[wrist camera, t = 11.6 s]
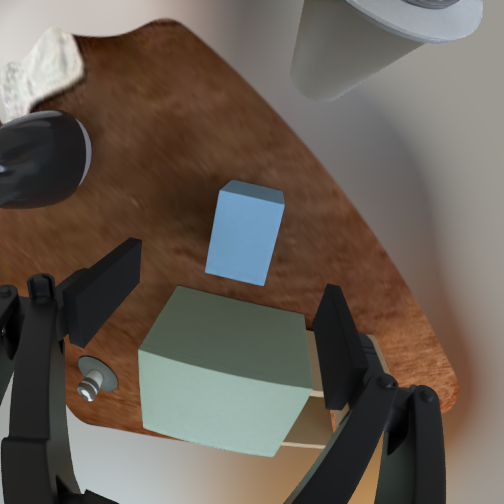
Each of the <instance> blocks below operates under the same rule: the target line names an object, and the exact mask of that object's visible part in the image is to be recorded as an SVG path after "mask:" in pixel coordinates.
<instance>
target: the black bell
mask: <svg viewBox="0 0 504 504" xmlns="http://www.w3.org/2000/svg"><path fill="white" fill-rule="evenodd" d="M90 162H91V142H90V139H89V136H88V133H87V131H86V129H85V128H84V126H83V125H82V124H81V123H80V122H79V121H78V120H77V119H75V118H74V117H73V116H72V115H71V114H69V113H67V112H65V111H62V110H46V111H40V112H36V113H31V114H28V115H25V116H22V117H19V118H17V119H14V120H12V121H10V122H8V123H6V124H4V125H2V126H0V208H3V209H33V208H40V207H46V206H51V205H55V204H58V203H60V202H62V201H64V200H66V199H68V198H69V197H70V196H71V195H72V194H73V193H74V192H75V190H76V189H77V188H78V186H79V185H80V184H81V183H82V181H83V180H84V178H85V176H86V174H87V172H88V169H89V166H90Z"/></svg>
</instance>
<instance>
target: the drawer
mask: <svg viewBox="0 0 504 504" xmlns="http://www.w3.org/2000/svg"><path fill="white" fill-rule="evenodd" d="M306 333H307V341H308V349H309V357H310V365H311V374H312V383H313V391H312V392H311V394H310V396H309V398H308V400H307V401H306V403H305V405H304V407H303V409H302V410H301V412H300V414H299V416H298V417H297V419H296V421H295V422H294V424H293V426H292V428H291V429H290V431H289V432H288V434H287V436H286V437H285V439H284V441H283V442H282V444H281V445H286V446H296V447H307V448H323V449H324V448H325V447H326V445H327V443H328V442H329V440H330V439H331V437H332V436H333V429H332V422H331V415H330V410H328V409H325V402H324V394H323V387H322V380H321V373H320V367H319V360H318V354H317V348H316V342H315V335H314V332H313V331H308V330H306ZM366 335H367V336H368V337H369V338H370V339H371V340H372V342H373V344H374V347H375V350H376V352H377V355H378V357H379V359H380V362H381V364H382V367H383V370H384V372H385V373H387V374H389V375H390V372H389V370H388V367H387V365H386V362H385V360H384V357H383V355H382V352H381V350H380V348H379V345H378V343H377V341H376V338H375V336H374V335H369V334H366ZM416 387H417V385H411V386H410V387H409V388H402V387H399V388H401V389H404V390H407V391H411V392H413V390H414V389H415V388H416ZM348 410H349V407H348V402H347V404H346V405H345V407H344V408H343V409H342V411H340V410H334V415H335V422H336V428H338V426H339V425H338V424H339V423H340V422H341V420H342V419H343V417H344V416H345V415H346V413H347V412H348Z"/></svg>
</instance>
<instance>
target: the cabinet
mask: <svg viewBox="0 0 504 504" xmlns="http://www.w3.org/2000/svg"><path fill="white" fill-rule="evenodd" d="M138 360H139V381H140V396H141V408H142V419H143V428H146V429H149V430H152V431H155V432H158V433H161V434H164V435H168V436H171V437H175V438H178V439H182V440H186V441H189V442H193V443H198V444H202V445H206V446H210V447H215V448H220V449H224V450H230V451H235V452H241V453H247V454H253V455H260V456H268V457H273V456H274V455H275V453H276V452H277V450H278V448H279V447H280V445H281V444H282V442H283V441H284V439H285V437H286V436H287V434H288V432H289V431H290V429H291V428H292V426H293V424H294V422H295V421H296V419H297V417H298V416H299V414H300V412H301V410H302V409H303V407H304V405H305V403H306V401H307V400H308V398H309V396H310V394H311V392H312V391H313V383H312V374H311V365H310V357H309V349H308V341H307V333H306V326H305V318H304V314H300V313H295V312H290V311H286V310H281V309H276V308H272V307H267V306H262V305H258V304H253V303H249V302H245V301H240V300H236V299H232V298H227V297H223V296H219V295H215V294H211V293H207V292H203V291H199V290H195V289H191V288H187V287H183V286H179V285H178V286H177V287H176V289H175V290H174V292H173V294H172V295H171V297H170V298H169V300H168V302H167V303H166V305H165V306H164V308H163V310H162V311H161V313H160V314H159V316H158V318H157V319H156V321H155V322H154V324H153V326H152V327H151V329H150V331H149V332H148V334H147V335H146V337H145V339H144V340H143V342H142V344H141V345H140V347H139V349H138Z"/></svg>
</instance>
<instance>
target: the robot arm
mask: <svg viewBox="0 0 504 504" xmlns="http://www.w3.org/2000/svg"><path fill="white" fill-rule="evenodd" d="M401 1H403V2H406V3H408V4H411V5H414V6H417V7H421V8H426V9H435V10H436V9H445V8H448V7H450V6H452V5H453V4H455V3H457V2H458V1H460V0H401ZM141 246H142V240H139V239H135V238H131V237H130V238H129V239H127V240H126V241H125V242H123V243H122V244H121V245H119V246H118V247H117V248H115V249H114V250H113V251H111V252H110V253H109V254H107V255H106V256H105V257H103V258H102V259H101V260H100V261H98V262H97V263H96V264H95V265H93V266H92V267H91V268H89V269H87V268H83V269H80V270H77V271H76V272H74V273H73V274H72V275H70V277H68V278H67V279H65V280H64V281H63V282H61V283H60V284H59V285H58V286H57V287H55V281H54V278H53V276H51V275H49V274H44V273H42V274H36V275H33V276H31V277H30V278H29V279H28V280H27V286H28V291H29V297H30V298H28V297H21V296H19V295H18V290H17V288H16V287H15V286H13V285H2V286H0V405H1V402H2V399H3V397H4V394H5V392H6V389H7V387H8V384H9V382H10V379H11V377H12V374H13V372H14V377H13V385H12V394H11V406H10V424H9V436H8V437H6V438H3V440H2V442H1V472H2V486H3V496H4V504H119V503H117V502H115V501H112V500H110V499H107V498H105V497H103V496H100V495H98V494H96V493H94V492H91V491H89V490H87V489H86V491H85V493H84V494H81V492H80V489H79V486H78V483H77V481H76V478H75V475H74V471H73V465H72V459H71V452H70V445H69V437H68V428H67V416H66V401H65V342H64V337H65V336H66V335H67V334H68V333H69V338H70V343H72V344H74V345H77V346H79V347H81V348H85V346H86V345H87V344H88V343H89V341H90V340H91V339H92V338H93V336H94V335H95V334H96V333H97V331H98V330H99V329H100V328H101V327H102V325H103V324H104V323H105V322H106V321H107V319H108V318H109V317H110V316H111V315H112V313H113V312H114V311H115V310H116V309H117V307H118V306H119V305H120V304H121V303H122V302H123V300H124V299H125V298H126V297H127V296H128V295H129V293H130V292H131V291H132V290H133V289H134V288H135V287H136V285H137V284H138V283H139V280H140V261H141ZM312 324H313V329H314V335H315V342H316V348H317V354H318V360H319V367H320V373H321V380H322V387H323V394H324V402H325V409H328V410H340V411H342V409H343V408H344V407H345V405H346V404H347V402H348V407H349V410H348V412H347V413H346V415H345V416H344V417H343V419H342V420H341V422H340V423H339V424H338V425H339V426H338V428H337V429H336V431H335V433H334V434H333V436H332V437H331V439H330V440H329V442H328V443H327V445H326V447H325V448H324V450H323V451H322V453H321V454H320V455H319V457H318V458H317V460H316V461H315V463H314V464H313V465H312V467H311V468H310V470H309V471H308V472H307V474H306V475H305V476H304V478H303V479H302V481H301V482H300V483H299V484H298V486H297V487H296V488H295V489H294V491H293V492H292V493H291V495H290V496H289V497H288V498H287V500H286V501H285V502H284V503H283V504H347V503H348V502H349V500H350V498H351V496H352V494H353V493H354V491H355V489H356V487H357V485H358V483H359V481H360V480H361V477H362V476H363V474H364V471H365V470H366V468H367V465H368V463H369V461H370V459H371V457H372V455H373V453H374V450H375V448H376V446H377V444H378V441H379V439H380V437H381V434H382V432H383V431H384V437H383V448H382V456H381V464H380V471H379V479H378V484H377V490H376V496H375V501H374V504H446V468H445V450H444V437H443V427H442V419H441V411H440V404H439V398H438V395H437V394H436V392H435V391H434V390H433V389H432V388H430V387H428V386H425V385H419V386H417V387H416V388H415V389H414V390H413V392H411V391H407V390H404V389H401V388H399V387H398V383H397V381H396V380H395V379H394V377H392V376H391V375H389V374H387V373H385V372H384V370H383V367H382V364H381V362H380V359H379V357H378V355H377V352H376V350H375V347H374V344H373V342H372V340H371V339H370V338H369V337H368V336H367V335H366V334H361V333H358V332H357V329H356V326H355V324H354V321H353V318H352V316H351V313H350V310H349V308H348V305H347V303H346V300H345V298H344V295H343V293H342V290H341V288H340V286H336V285H332V284H327V286H326V289H325V292H324V294H323V297H322V300H321V302H320V305H319V308H318V310H317V313H316V315H315V318H314V321H313V323H312ZM2 330H3V332H2Z"/></svg>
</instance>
